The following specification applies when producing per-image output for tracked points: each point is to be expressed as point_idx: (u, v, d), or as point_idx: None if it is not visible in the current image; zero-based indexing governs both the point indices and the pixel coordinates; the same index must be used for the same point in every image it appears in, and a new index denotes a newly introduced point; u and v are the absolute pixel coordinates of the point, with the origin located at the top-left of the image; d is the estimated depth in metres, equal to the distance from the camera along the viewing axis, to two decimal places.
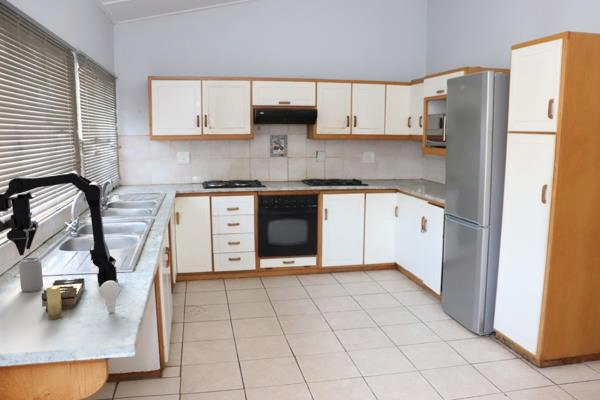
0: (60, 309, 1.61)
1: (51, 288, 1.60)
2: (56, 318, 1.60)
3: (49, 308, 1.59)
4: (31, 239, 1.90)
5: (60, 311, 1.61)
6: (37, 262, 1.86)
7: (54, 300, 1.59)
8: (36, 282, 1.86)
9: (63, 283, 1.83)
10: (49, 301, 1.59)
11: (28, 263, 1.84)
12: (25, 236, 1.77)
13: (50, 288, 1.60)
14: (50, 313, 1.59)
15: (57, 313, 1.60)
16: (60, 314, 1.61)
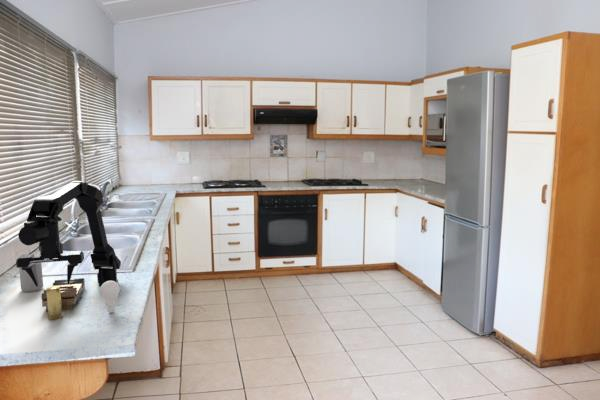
0: (60, 309, 1.61)
1: (51, 288, 1.60)
2: (56, 318, 1.60)
3: (49, 308, 1.59)
4: None
5: (60, 311, 1.61)
6: None
7: (54, 300, 1.59)
8: None
9: (63, 283, 1.83)
10: (49, 301, 1.59)
11: None
12: (17, 265, 1.53)
13: (50, 288, 1.60)
14: (50, 313, 1.59)
15: (57, 313, 1.60)
16: (60, 314, 1.61)
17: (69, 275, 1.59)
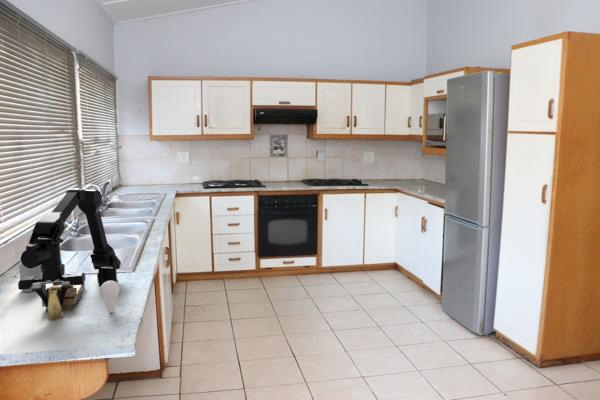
0: (60, 309, 1.61)
1: (51, 288, 1.60)
2: (56, 318, 1.60)
3: (49, 308, 1.59)
4: None
5: (60, 311, 1.61)
6: None
7: (54, 300, 1.59)
8: None
9: None
10: (49, 301, 1.59)
11: None
12: (19, 287, 1.55)
13: (50, 288, 1.60)
14: (50, 313, 1.59)
15: (57, 313, 1.60)
16: (60, 314, 1.61)
17: (62, 297, 1.59)
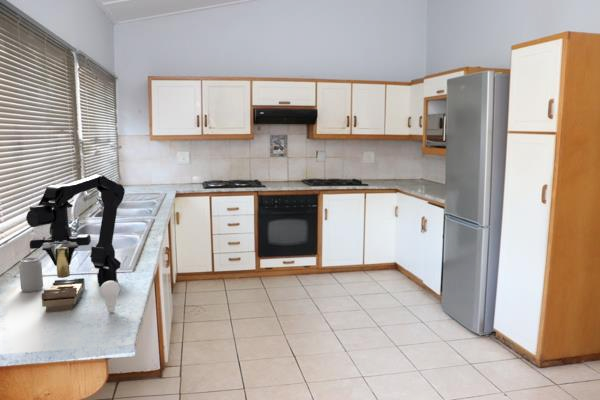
0: (68, 268, 1.75)
1: (60, 248, 1.74)
2: (64, 276, 1.74)
3: (58, 266, 1.74)
4: None
5: (68, 269, 1.75)
6: (37, 262, 1.86)
7: (62, 258, 1.73)
8: (36, 282, 1.86)
9: (63, 283, 1.83)
10: (58, 260, 1.73)
11: (28, 263, 1.84)
12: (30, 247, 1.69)
13: (58, 248, 1.74)
14: (59, 271, 1.74)
15: (65, 271, 1.74)
16: (68, 273, 1.76)
17: (70, 256, 1.74)
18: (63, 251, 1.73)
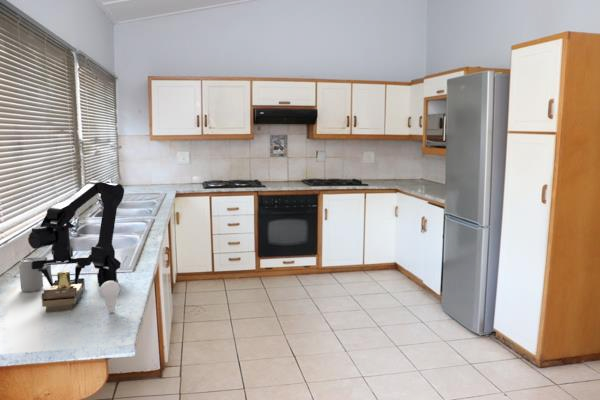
0: None
1: (62, 273, 1.76)
2: None
3: None
4: None
5: None
6: None
7: (64, 283, 1.75)
8: (36, 282, 1.86)
9: None
10: (60, 284, 1.75)
11: (28, 263, 1.84)
12: (32, 267, 1.71)
13: (60, 272, 1.76)
14: None
15: None
16: None
17: (77, 276, 1.76)
18: (65, 275, 1.75)
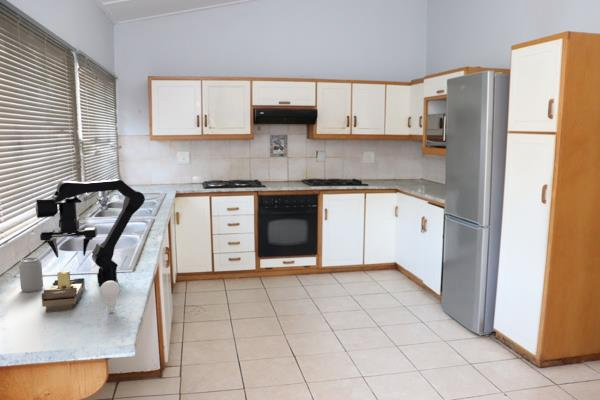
0: None
1: (62, 273, 1.76)
2: None
3: None
4: None
5: None
6: (37, 262, 1.86)
7: (64, 283, 1.75)
8: (36, 282, 1.86)
9: None
10: (60, 284, 1.75)
11: (28, 263, 1.84)
12: (41, 238, 1.80)
13: (60, 272, 1.76)
14: None
15: None
16: None
17: (85, 248, 1.86)
18: (65, 275, 1.75)
